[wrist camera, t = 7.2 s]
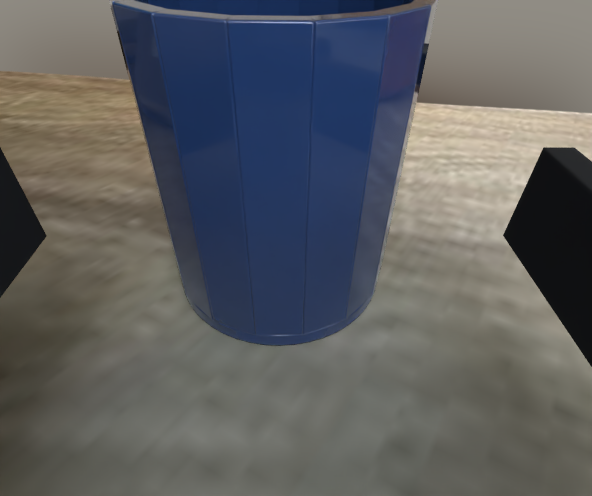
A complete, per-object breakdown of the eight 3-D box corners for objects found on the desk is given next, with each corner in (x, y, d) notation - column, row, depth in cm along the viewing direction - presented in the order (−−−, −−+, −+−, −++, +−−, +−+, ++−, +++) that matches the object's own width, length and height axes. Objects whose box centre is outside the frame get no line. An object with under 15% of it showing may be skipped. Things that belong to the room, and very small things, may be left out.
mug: (395, 345, 14) (492, 22, 7) (161, 347, 13) (42, 18, 7) (352, 176, 22) (379, -37, 16) (210, 176, 22) (178, -40, 16)
